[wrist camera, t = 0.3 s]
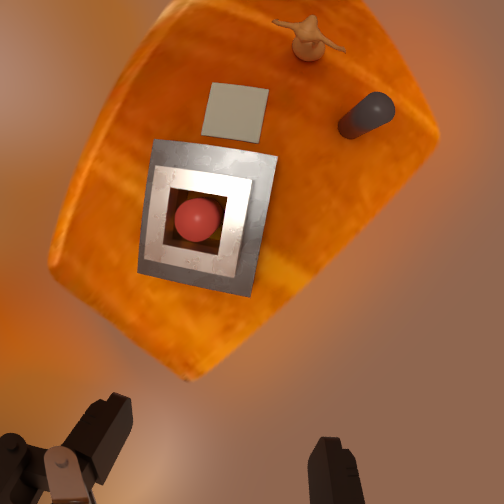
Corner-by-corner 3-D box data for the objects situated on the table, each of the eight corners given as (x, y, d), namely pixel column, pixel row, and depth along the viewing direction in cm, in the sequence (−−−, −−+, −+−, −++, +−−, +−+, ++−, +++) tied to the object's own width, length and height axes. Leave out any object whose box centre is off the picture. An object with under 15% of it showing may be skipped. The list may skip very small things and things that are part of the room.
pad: (213, 83, 32) (212, 82, 32) (268, 90, 32) (268, 89, 32) (201, 135, 34) (201, 134, 33) (258, 143, 34) (258, 143, 33)
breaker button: (189, 194, 34) (177, 196, 29) (226, 200, 34) (219, 203, 29) (184, 230, 35) (172, 237, 30) (219, 237, 35) (212, 245, 30)
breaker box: (165, 142, 34) (143, 135, 28) (276, 159, 34) (278, 153, 27) (149, 264, 38) (126, 280, 31) (252, 285, 38) (248, 307, 31)
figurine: (342, 55, 30) (368, 11, 19) (324, 90, 32) (347, 53, 20) (283, 30, 30) (286, -22, 18) (263, 63, 31) (259, 16, 20)
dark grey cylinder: (339, 113, 32) (366, 87, 21) (362, 119, 32) (396, 97, 21) (336, 135, 33) (362, 117, 22) (359, 141, 33) (393, 127, 22)
